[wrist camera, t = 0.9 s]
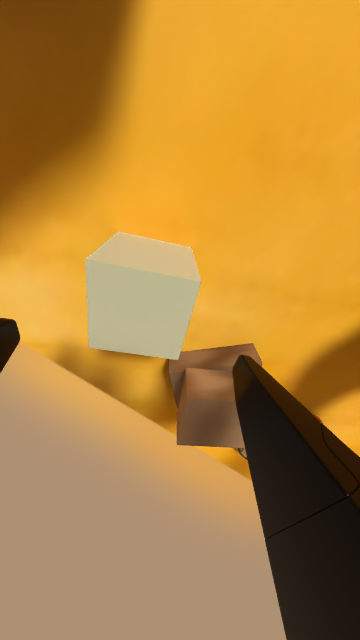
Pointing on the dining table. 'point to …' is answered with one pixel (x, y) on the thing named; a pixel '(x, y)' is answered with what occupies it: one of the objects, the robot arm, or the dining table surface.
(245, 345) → the walnut slab low
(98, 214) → the dining table surface
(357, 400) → the dining table surface
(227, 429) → the walnut slab top
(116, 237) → the sage block
